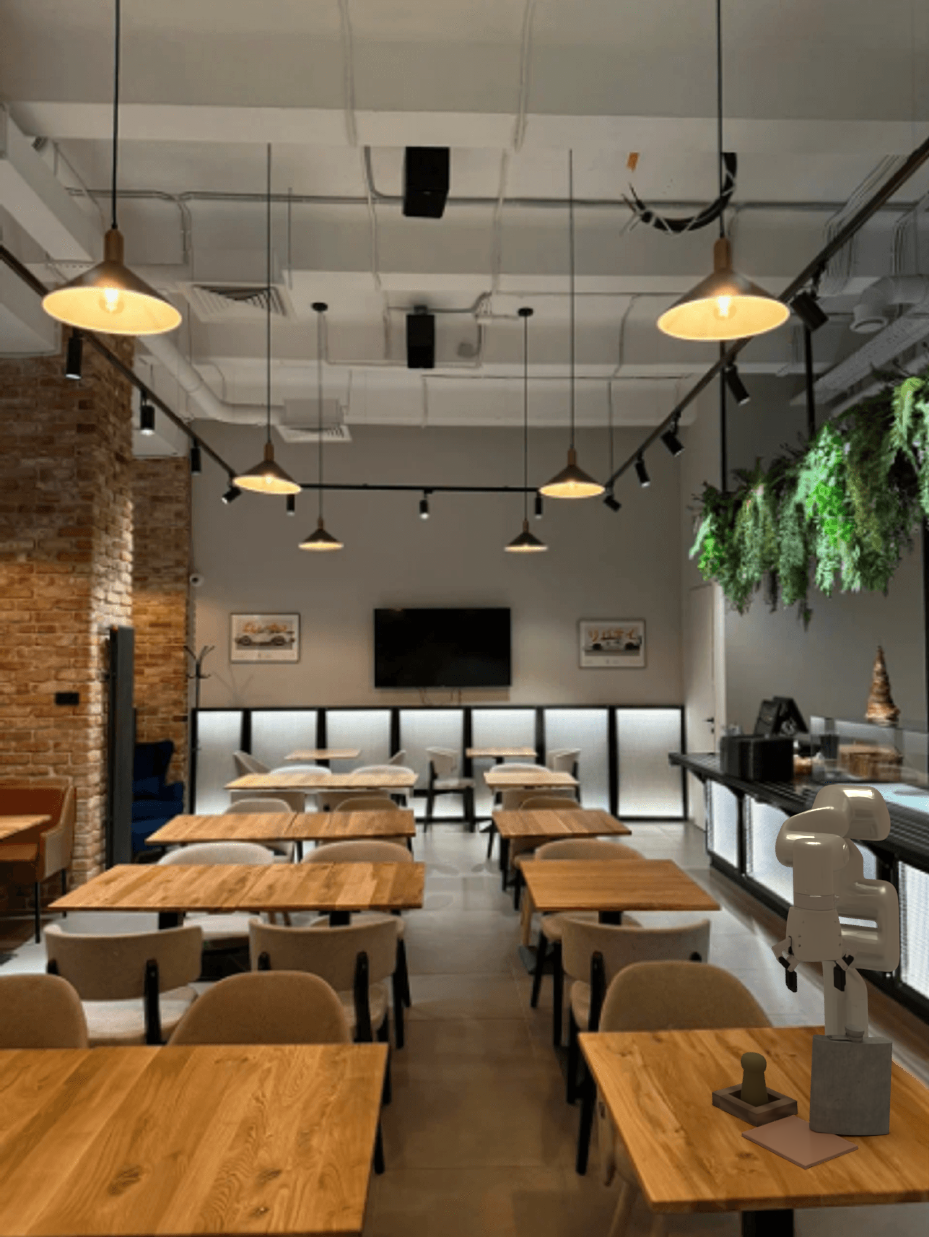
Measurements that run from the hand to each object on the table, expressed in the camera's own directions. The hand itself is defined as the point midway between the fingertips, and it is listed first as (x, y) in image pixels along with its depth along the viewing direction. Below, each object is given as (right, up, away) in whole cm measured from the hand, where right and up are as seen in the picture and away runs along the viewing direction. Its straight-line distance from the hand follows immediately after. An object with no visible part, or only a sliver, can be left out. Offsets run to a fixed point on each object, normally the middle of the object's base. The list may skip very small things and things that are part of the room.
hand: (815, 989), depth 186 cm
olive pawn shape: (-9, -29, +9) cm, 31 cm away
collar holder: (-9, -28, +9) cm, 31 cm away
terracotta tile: (-5, -27, -5) cm, 28 cm away
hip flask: (+6, -27, -1) cm, 28 cm away
